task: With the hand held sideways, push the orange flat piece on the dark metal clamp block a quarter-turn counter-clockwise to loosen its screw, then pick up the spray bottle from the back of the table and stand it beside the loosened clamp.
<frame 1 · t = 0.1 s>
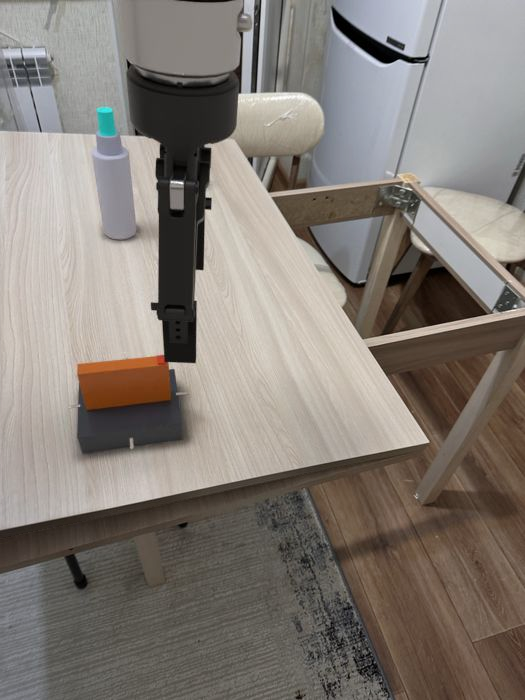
hand: (186, 309, 47), 20 cm above the table, tool pointing down, fingers open, 13 cm apart
candle: (186, 186, 107), on the table
orange flat piece: (126, 382, 57), point 7 cm above the table, hinge at 0.0°
spray bottle: (120, 232, 92), on the table
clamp: (131, 417, 62), on the table
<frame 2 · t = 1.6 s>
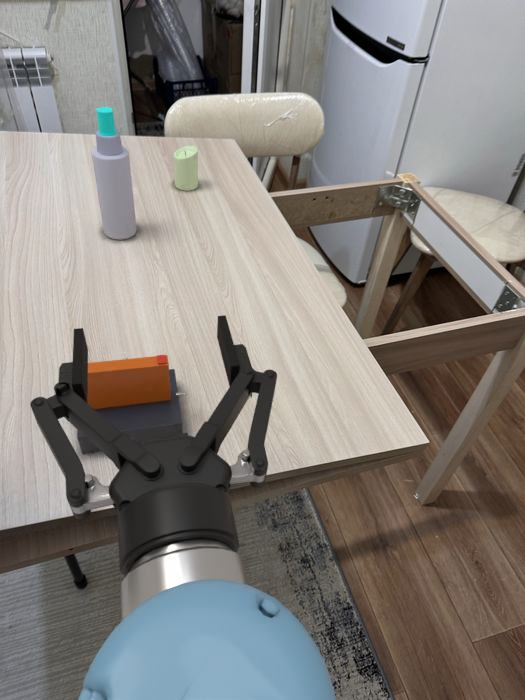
hand: (153, 332, 45), 20 cm above the table, tool horizontal, fingers open, 12 cm apart
nothing on the table moved.
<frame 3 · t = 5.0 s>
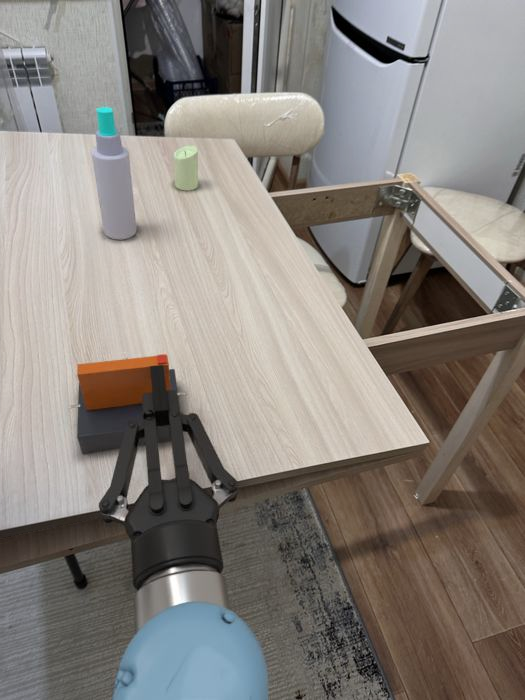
hand: (157, 373, 56), 9 cm above the table, tool horizontal, fingers closed
orange flat piece: (126, 382, 57), point 7 cm above the table, hinge at 0.8°, touching gripper
everything else where it was.
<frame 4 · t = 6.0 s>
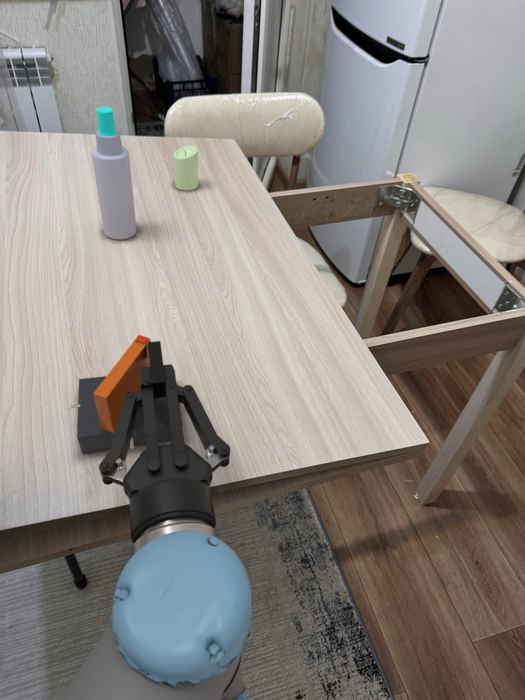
hand: (154, 349, 59), 9 cm above the table, tool horizontal, fingers closed
orange flat piece: (126, 382, 57), point 7 cm above the table, hinge at 58.5°, touching gripper
everything else where it was.
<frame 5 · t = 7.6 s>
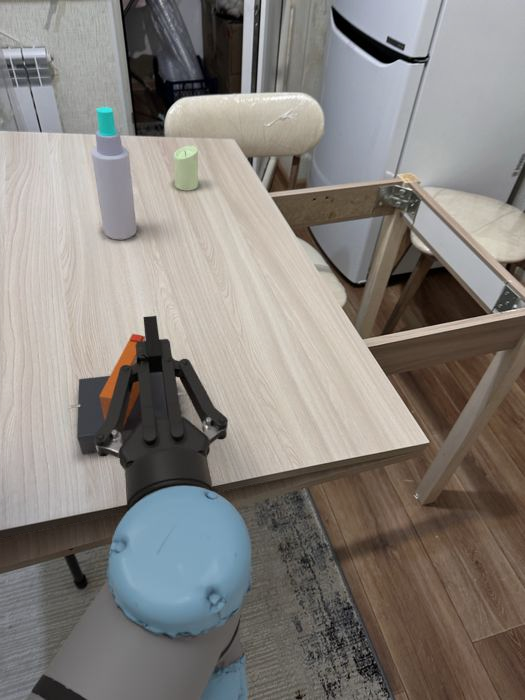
hand: (150, 324, 58), 12 cm above the table, tool horizontal, fingers closed
orange flat piece: (126, 382, 57), point 7 cm above the table, hinge at 67.3°
everything else where it was.
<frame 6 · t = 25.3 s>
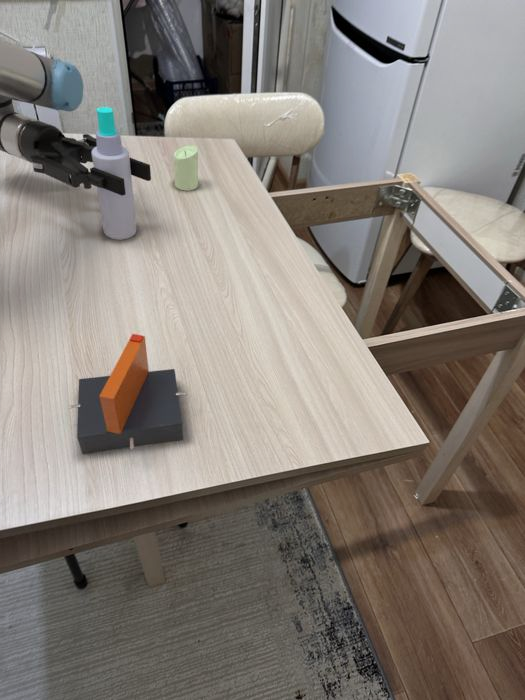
hand: (136, 180, 82), 12 cm above the table, tool horizontal, fingers closed on spray bottle, 6 cm apart
spray bottle: (120, 232, 92), on the table, touching gripper
everything else where it was.
when the fingers open (12 cm above the table, at t = 32.2 s): spray bottle stays where it is, on the table.
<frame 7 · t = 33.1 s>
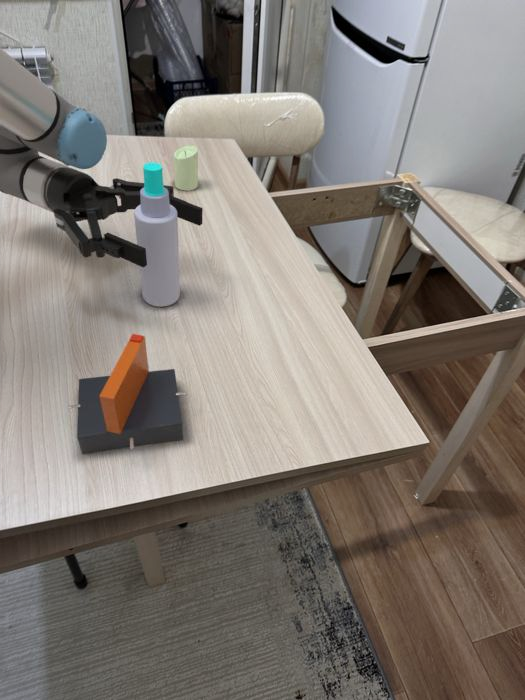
hand: (174, 236, 70), 13 cm above the table, tool horizontal, fingers open, 13 cm apart
spray bottle: (161, 297, 80), on the table
everything else where it was.
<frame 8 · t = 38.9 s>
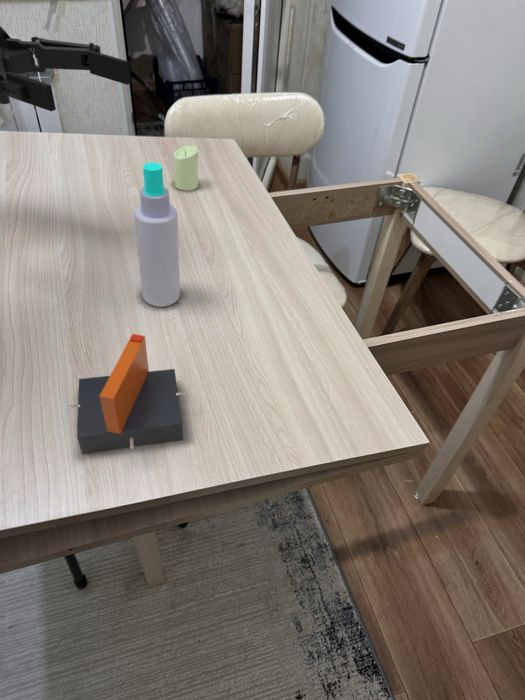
hand: (92, 84, 61), 30 cm above the table, tool horizontal, fingers open, 13 cm apart
nothing on the table moved.
at the end: orange flat piece at +67° (first picture: +0°); spray bottle inside the target area (0.0 cm from its centre), on the table; spray bottle tilted 0° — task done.
